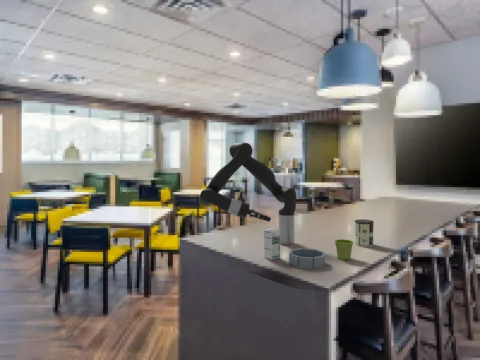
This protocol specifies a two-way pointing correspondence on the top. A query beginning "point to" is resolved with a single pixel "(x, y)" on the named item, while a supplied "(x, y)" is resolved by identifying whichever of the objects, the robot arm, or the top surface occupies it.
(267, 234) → the syrup box
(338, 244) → the plant pot
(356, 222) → the coffee can
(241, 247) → the top surface
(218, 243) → the top surface
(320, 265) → the bowl
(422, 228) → the top surface
